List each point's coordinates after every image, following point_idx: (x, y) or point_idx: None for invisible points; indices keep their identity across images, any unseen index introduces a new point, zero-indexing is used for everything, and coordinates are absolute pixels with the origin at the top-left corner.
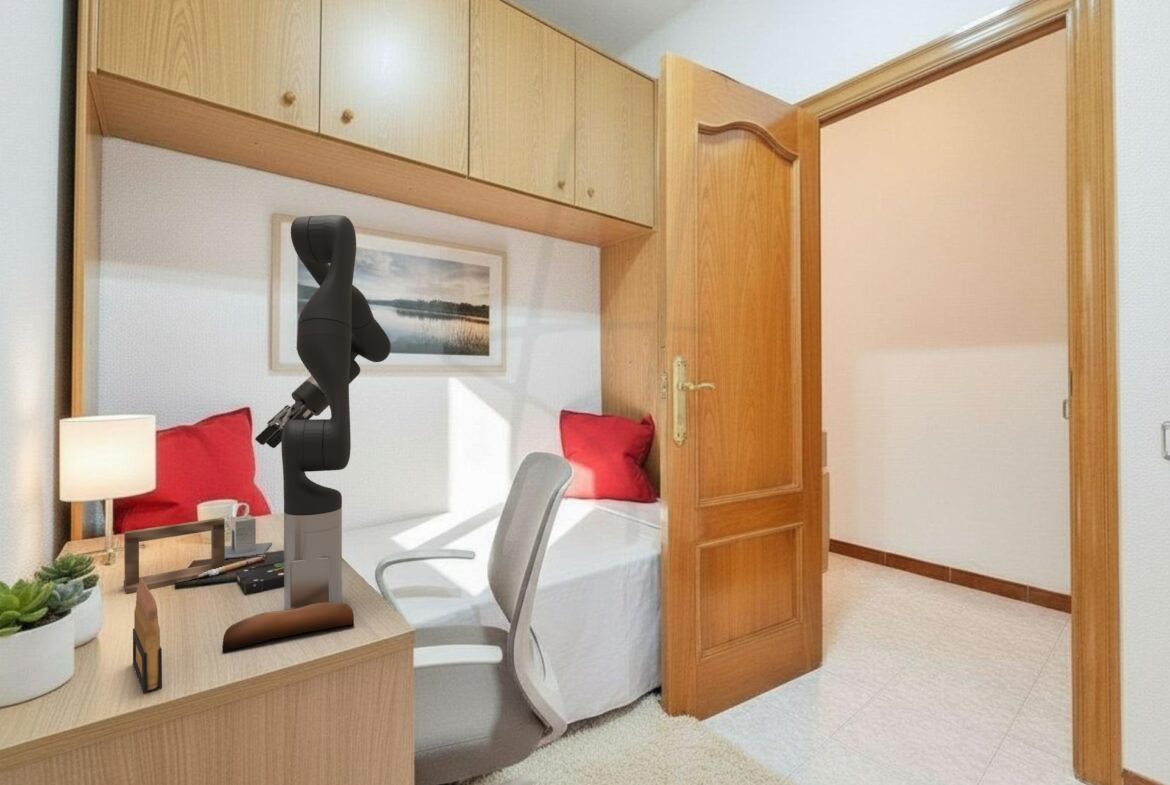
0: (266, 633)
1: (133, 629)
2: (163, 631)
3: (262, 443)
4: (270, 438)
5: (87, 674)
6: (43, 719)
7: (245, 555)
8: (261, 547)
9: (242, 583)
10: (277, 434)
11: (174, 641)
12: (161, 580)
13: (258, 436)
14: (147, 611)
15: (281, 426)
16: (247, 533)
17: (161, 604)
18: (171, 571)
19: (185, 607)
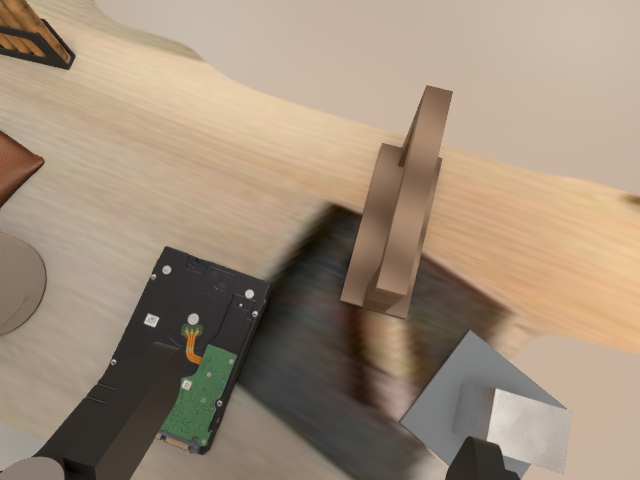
0: None
1: (42, 19)
2: (144, 113)
3: (448, 478)
4: (136, 370)
5: (99, 22)
6: None
7: (427, 390)
8: None
9: (190, 255)
10: (73, 413)
11: (92, 106)
12: (377, 193)
13: (476, 462)
14: None
15: (19, 477)
16: (473, 417)
17: (267, 156)
18: (425, 228)
19: (214, 170)
